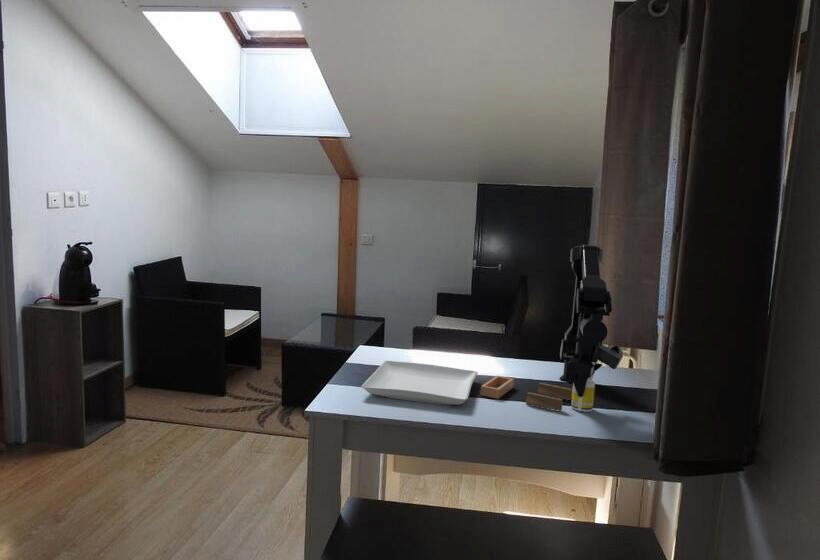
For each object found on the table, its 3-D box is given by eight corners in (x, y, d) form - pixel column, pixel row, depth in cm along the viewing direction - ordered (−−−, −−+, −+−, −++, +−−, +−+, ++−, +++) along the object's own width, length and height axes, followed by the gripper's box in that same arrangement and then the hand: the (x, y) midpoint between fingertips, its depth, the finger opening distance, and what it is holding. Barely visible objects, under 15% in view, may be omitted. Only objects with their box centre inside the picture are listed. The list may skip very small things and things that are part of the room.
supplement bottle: (595, 408, 167) (598, 371, 165) (589, 414, 162) (593, 376, 161) (574, 403, 169) (577, 367, 168) (568, 409, 165) (571, 372, 163)
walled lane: (538, 393, 177) (539, 382, 176) (571, 399, 173) (572, 389, 172) (525, 404, 167) (526, 393, 166) (560, 411, 163) (561, 400, 162)
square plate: (466, 413, 159) (467, 398, 158) (359, 399, 164) (360, 385, 164) (477, 381, 185) (478, 368, 185) (384, 371, 190) (385, 358, 190)
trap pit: (496, 384, 183) (496, 375, 182) (513, 387, 180) (513, 378, 180) (480, 395, 172) (481, 386, 172) (498, 398, 170) (498, 389, 169)
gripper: (614, 346, 151) (607, 410, 153) (628, 332, 167) (622, 390, 170) (567, 339, 156) (561, 401, 158) (585, 326, 173) (579, 382, 175)
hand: (583, 393), depth 165 cm, fingers closed on supplement bottle, 5 cm apart
